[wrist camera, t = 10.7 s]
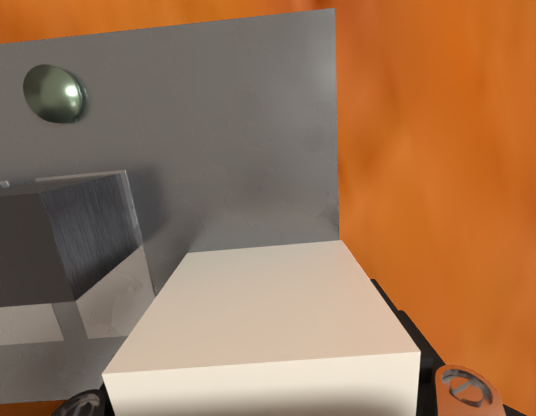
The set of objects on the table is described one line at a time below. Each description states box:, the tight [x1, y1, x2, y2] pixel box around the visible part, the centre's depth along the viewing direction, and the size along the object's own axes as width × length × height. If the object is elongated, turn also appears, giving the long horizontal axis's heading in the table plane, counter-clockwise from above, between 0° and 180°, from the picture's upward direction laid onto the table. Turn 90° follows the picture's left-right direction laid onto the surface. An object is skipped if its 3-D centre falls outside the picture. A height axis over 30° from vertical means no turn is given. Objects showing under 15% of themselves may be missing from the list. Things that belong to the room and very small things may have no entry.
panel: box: [0, 8, 339, 404], centre depth 10 cm, size 25×15×6 cm, turn 95°
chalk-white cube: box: [102, 240, 421, 416], centre depth 8 cm, size 6×6×6 cm
